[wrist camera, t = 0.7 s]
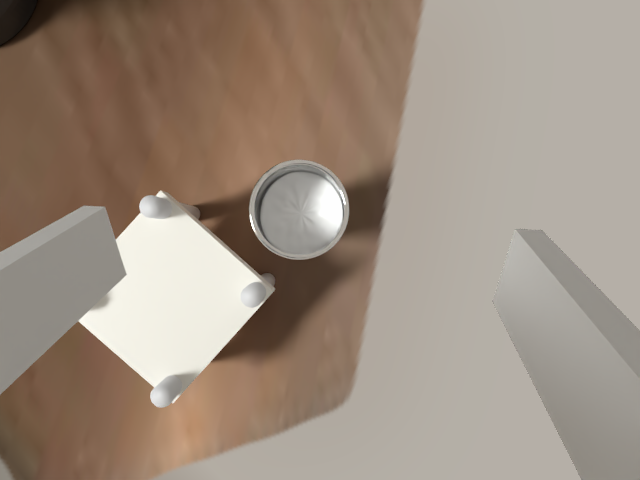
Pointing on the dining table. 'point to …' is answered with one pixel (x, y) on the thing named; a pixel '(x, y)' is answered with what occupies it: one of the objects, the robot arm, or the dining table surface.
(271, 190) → the silver metal goblet
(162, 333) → the shelf stand
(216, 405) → the dining table surface
